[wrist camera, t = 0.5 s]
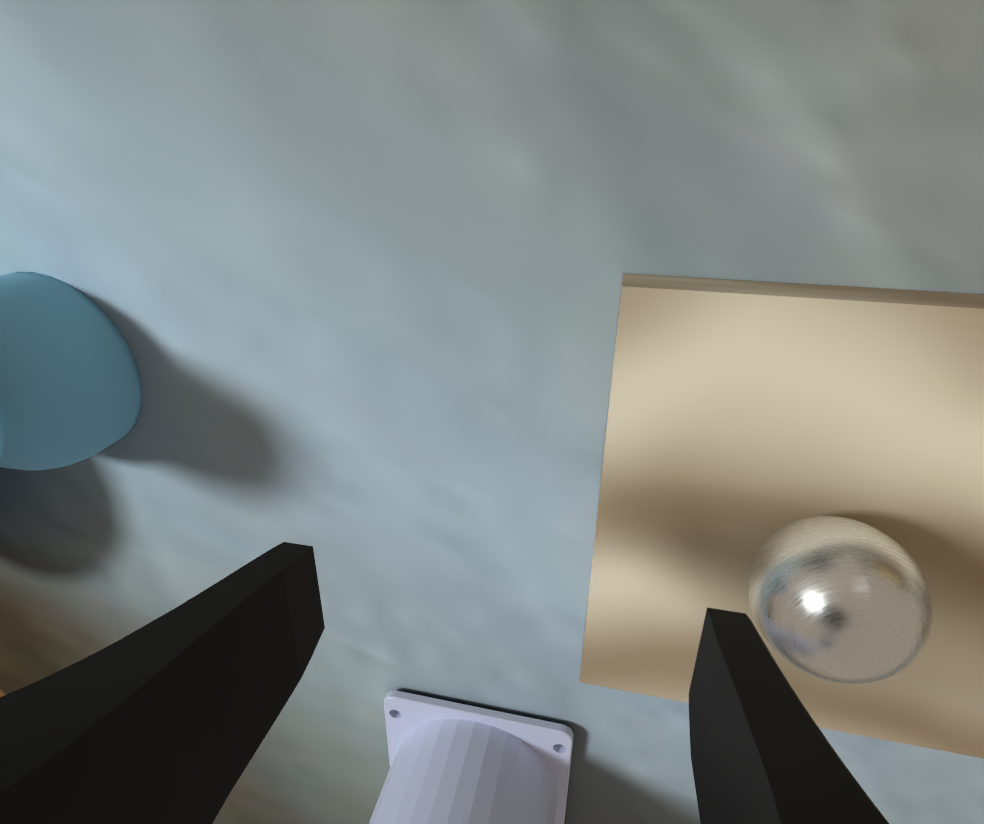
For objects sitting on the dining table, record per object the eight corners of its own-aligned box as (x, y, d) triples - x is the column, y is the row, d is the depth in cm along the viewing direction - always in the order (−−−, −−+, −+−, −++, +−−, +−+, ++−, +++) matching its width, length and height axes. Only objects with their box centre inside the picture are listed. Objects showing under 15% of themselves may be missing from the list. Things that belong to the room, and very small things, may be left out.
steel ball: (870, 612, 17) (931, 738, 14) (724, 590, 18) (747, 703, 14) (914, 496, 15) (997, 605, 12) (751, 477, 16) (783, 574, 13)
